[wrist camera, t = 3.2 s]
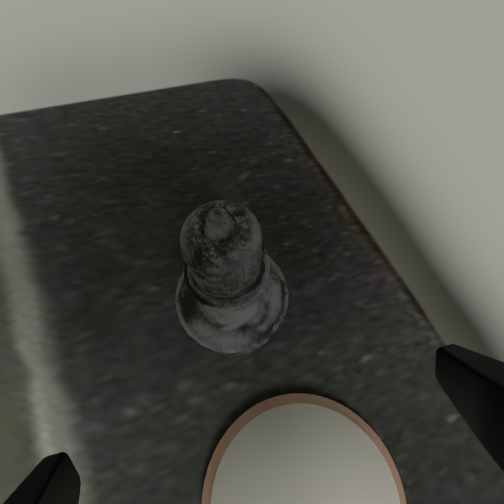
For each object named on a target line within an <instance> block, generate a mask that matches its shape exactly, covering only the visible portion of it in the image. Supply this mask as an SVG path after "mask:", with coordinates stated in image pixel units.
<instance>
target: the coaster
mask: <svg viewBox="0 0 504 504" xmlns="http://www.w3.org/2000/svg"><path fill="white" fill-rule="evenodd" d="M202 504H406V499H405V494H404V490H403V486H402V482H401V479H400V476H399V474H398V471H397V468H396V466H395V464H394V462H393V460H392V458H391V456H390V454H389V452H388V450H387V449H386V447H385V446H384V444H383V442H382V441H381V439H380V438H379V437H378V436H377V434H376V433H375V432H374V431H373V430H372V428H371V427H370V426H369V425H368V424H367V423H366V422H365V421H364V420H363V419H362V418H360V417H359V416H358V415H356V414H355V413H354V412H353V411H351V410H350V409H348V408H346V407H345V406H343V405H341V404H340V403H337V402H335V401H333V400H330V399H328V398H325V397H321V396H317V395H312V394H304V393H292V394H285V395H279V396H276V397H273V398H269V399H267V400H264V401H262V402H260V403H258V404H256V405H255V406H253V407H252V408H250V409H249V410H247V411H246V412H245V413H243V414H242V415H241V416H240V417H239V418H238V419H237V420H236V421H235V422H234V423H233V424H232V425H231V426H230V427H229V429H228V430H227V431H226V433H225V434H224V436H223V437H222V438H221V440H220V442H219V444H218V445H217V447H216V449H215V451H214V453H213V456H212V458H211V461H210V463H209V466H208V469H207V473H206V477H205V481H204V487H203V493H202Z"/></svg>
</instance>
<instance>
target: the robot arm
mask: <svg viewBox="0 0 504 504" xmlns="http://www.w3.org/2000/svg"><path fill="white" fill-rule="evenodd" d="M435 375H436V378H437V381H438V383H439V384H440V386H441V387H442V389H443V390H444V392H445V393H446V395H447V396H448V398H449V399H450V401H451V402H452V404H453V405H454V407H455V408H456V409H457V411H458V412H459V414H460V415H461V417H462V418H463V420H464V421H465V423H466V424H467V426H468V427H469V429H470V430H471V431H472V433H473V434H474V436H475V437H476V438H477V440H478V441H479V442H480V444H481V445H482V446H483V447H484V449H485V450H486V451H487V453H488V454H489V455H490V456H491V457H492V459H493V460H494V461H495V462H496V463H497V465H498V466H499V467H500V468H501V470H502V471H503V472H504V362H501V361H499V360H496V359H493V358H491V357H488V356H485V355H482V354H480V353H477V352H474V351H472V350H469V349H466V348H464V347H461V346H458V345H455V344H450V345H447V346H443V347H440V348H438V349H437V351H436V366H435ZM80 486H81V482H80V477H79V474H78V472H77V470H76V468H75V467H74V465H73V463H72V461H71V459H70V457H69V456H68V454H67V453H65V452H61V453H57V454H53V455H50V456H47V457H45V458H44V459H43V460H42V461H41V462H40V463H39V464H38V465H37V466H36V467H35V468H34V469H33V471H32V472H31V473H30V474H29V475H28V476H27V477H26V478H25V480H24V481H23V482H22V483H21V484H20V485H19V486H18V487H17V489H16V490H15V491H14V492H13V493H12V494H11V495H10V496H9V498H8V499H7V500H6V501H5V502H4V503H3V504H78V502H79V495H80Z"/></svg>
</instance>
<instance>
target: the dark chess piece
mask: <svg viewBox="0 0 504 504" xmlns="http://www.w3.org/2000/svg"><path fill="white" fill-rule="evenodd" d="M180 249H181V252H182V255H183V258H184V260H185V264H184V271H183V273H182V275H181V277H180V279H179V281H178V285H177V289H176V294H175V299H176V311H177V314H178V317H179V320H180V323H181V324H182V326H183V327H184V329H185V330H186V332H187V333H188V335H189V336H191V337H192V338H193V339H194V340H195V341H197V342H198V343H199V344H200V345H202V346H204V347H207V348H209V349H211V350H213V351H216V352H218V353H220V354H223V355H230V356H238V355H245V354H248V353H250V352H253V351H255V350H257V349H258V348H260V347H261V346H262V345H264V344H265V343H266V342H267V341H268V339H269V338H270V337H271V336H273V335H274V333H275V332H276V330H277V329H278V328H279V326H280V325H281V324H282V321H283V319H284V316H285V314H286V311H287V306H288V296H289V294H288V288H287V283H286V279H285V277H284V275H283V273H282V271H281V269H280V267H279V266H278V265H277V264H276V263H275V261H274V260H273V259H272V258H271V257H270V256H268V255H267V253H266V250H265V248H264V247H263V246H262V232H261V227H260V225H259V223H258V221H257V219H256V216H255V215H254V214H253V213H252V212H251V211H250V210H249V209H248V208H246V207H245V206H243V205H242V204H239V203H236V202H233V201H225V200H220V201H212V202H210V203H207V204H204V205H202V206H200V207H199V208H197V209H196V210H194V211H193V212H192V213H191V214H190V215H189V216H188V217H187V219H186V221H185V222H184V224H183V226H182V230H181V234H180Z"/></svg>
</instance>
